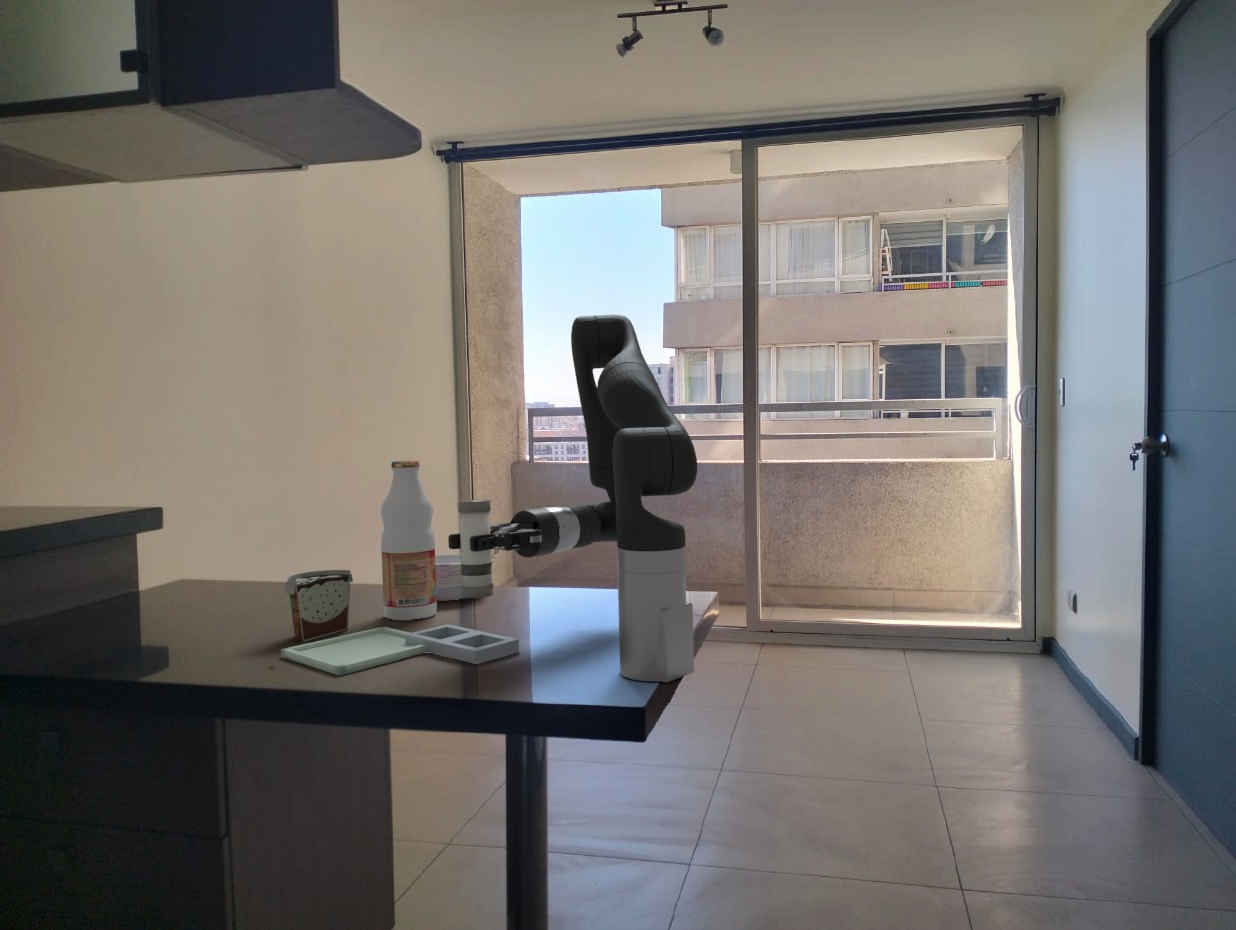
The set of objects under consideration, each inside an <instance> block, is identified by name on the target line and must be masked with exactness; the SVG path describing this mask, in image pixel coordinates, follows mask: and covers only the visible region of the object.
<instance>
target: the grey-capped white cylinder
mask: <svg viewBox="0 0 1236 930" xmlns="http://www.w3.org/2000/svg"><path fill="white" fill-rule="evenodd" d="M491 503H492V502H491V499H464V500H458V501H457V513H458V515H459V533H460V544H461V548H460V554H461V575H462V585H461V597H464V598H467V599H479V598H480V599H481V598H486V597H487V598H488V597H491V596H494V595H495V593H494V592H495V591H494V583H493V576H492V575H493V573H492V572H493V563H492V549H490V550H484V551H477V552H474V551H471V550H470V538H471V537H472V536H478V535H485V534H490V531H491V530H490V525H491V521H490V514H491V513H490V512H491V511H492V507H491Z"/></svg>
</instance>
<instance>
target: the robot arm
mask: <svg viewBox="0 0 1236 930" xmlns="http://www.w3.org/2000/svg"><path fill="white" fill-rule="evenodd" d="M570 331H571V332H570V333H571V334H570V345H571V354H572V361H573V368H574V373H575V379H576V384H577V385H576V386H577V390H578V397H579V402H580V407H581V412H582V416H583V422H584V427H585V433H586V442H587V454H588V469H589V479H590V482H591V485H592V486H594V487H595V488H599V489H603V490H604V491H606V493H607V496H608V498H609V501H608V500H607V501H597V502H590V503H585V504H582V505H581V504H580V505H568V506H562V507H561V506H548V507H538V508H530V509H522V510H519V511H518V512H516V513H515V514H514V515H513V516H512V518H511V520H510V522H498V523H496V524H493V525H492V524H490V534H485V535H478V536H472V537H471V538H470V550H471V551H474V552H477V551H484V550H490V549H491V550H494V551H505V552H506V551H509V552H510V551H512V550H514V551H515V552H516V554H518V555H519V556H521V557H523V558H526V559H527V558H528V559H529V558H536V557H541V556H547V555H553V554H558V553H562V552H564V551H567V550H573V549H579V548H584V547H587V546H590V545H592V544H593V543H600V542H601V543H602V542H605V543H607V542H616V548H617V549H616V550H617V551H616V552H617V553H616V554H617V555H616V556H617V595H618V603H617V604H618V638H619V639H618V645H619V671H620V672H619V673H620V675H621V676H623V678H624V677H625V678H626V679H630V680H635V681H641V682H662V683H669V682H672V681H675V680H677V679H680V678H683V677H684V676H688V675H690V674H692V673H695V660H694V659H695V657H694V656H695V655H694V652H695V651H694V609H693V608H694V606H693V603H692V602H690V601H687V569H686V567H687V565H686V564H687V562H686V559H687V558H686V557H687V556H686V554H687V553H686V530H685V527H684V526H683V525H682V524H680V523H678V522H676V521H672V520H669V519H667V518H666V519H665V518H663V517H660V516H657V515H655V514H653V512H650V511H649V510H647V509H646V508H645V507H644V505H643V502H642V497H655V496H656V497H658V496H659V497H660V496H662V497H663V496H676V495H681V494H684V493H686V492H688V491H689V490H691V488H692V487H693V486H694V485H695V482H696V479H697V475H698V458H697V453H696V450H695V447H694V443H693V441H692V439H691V437H690V434H689V432H688V431H687V429H686V428H685V426H684V425H683V424H682V423H681V421H680V420H679V419H678V417H677V416H676V415H675V413H674V412H673V410H671V408H670V407H669V405H668V403H667V402H666V401H667V400H665V397H664V396H663V393H662V390H661V388H660V386H659V384H658V381H657V380H656V377H655V376H654V374H653V372H652V370H651V369H650V367H649V365H648V363H647V361H646V359H645V357H644V355H643V353H642V350H641V346H640V343H639V340H638V337H637V333H636V330H635V327H634V325H633V324H632V321H631V320H630V318H628V316H626V315H622V314H597V315H596V314H595V315H581V316H577V317H576V318H575V319H573V322H572V326H571V330H570ZM595 369H596V370H597V369H602V371H601V373H600V374H599V378H598V381H597V383H596V380H595V376H594V370H595ZM448 548H449V549H450V550H461V544H460V532H459V533H450V534H449V535H448Z"/></svg>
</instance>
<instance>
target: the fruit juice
mask: <svg viewBox="0 0 1236 930" xmlns="http://www.w3.org/2000/svg"><path fill="white" fill-rule="evenodd" d="M420 465H421V464H420V461H419V460H396V461H395V460H394V461H391V471H392V472H393V476H392V481H391V485H390V489H389V491H388V493H387V495H386V497H385V499H384V500H383V502H382V504H381V506H380V516H381V519H382V523H383V527H384V528H383V531H382V534H381V539H380V540H381V542H380V543H381V544H380V548H381V549H380V551H381V570H382V572H381V574H382V597H383V599H382V600H383V604H382V605H383V615H384V617H385V618H386V619H387V618H388V619H387V620H391V619H392V621H414V620H413V619H418V620H422V619H421V618H423V619H428V618H431V617H433V616H435V615H436V613H437V609H438V601H437V596H436V565H435V555H436V542H435V541H436V540H435V534H434V531H433V529H432V526H431V525H432V524H431V523H432V518H433V514H434V509H433V503H432V501H431V499H430V498H429V496H427V494H426V493H425V491H424V488H423V486H422V483H421V480H420V477H419V470H420Z"/></svg>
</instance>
